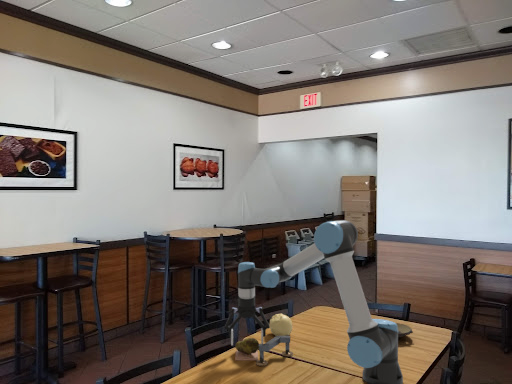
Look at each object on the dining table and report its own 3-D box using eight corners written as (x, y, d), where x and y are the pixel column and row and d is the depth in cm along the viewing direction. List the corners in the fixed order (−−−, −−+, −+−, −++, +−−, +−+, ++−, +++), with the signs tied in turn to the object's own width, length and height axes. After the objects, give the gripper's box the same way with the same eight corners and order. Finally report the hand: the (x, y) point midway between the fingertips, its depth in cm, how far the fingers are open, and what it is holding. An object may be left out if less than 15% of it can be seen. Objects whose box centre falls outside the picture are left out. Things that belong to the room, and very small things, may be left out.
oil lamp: (387, 347, 196) (386, 331, 196) (349, 329, 224) (349, 314, 224) (423, 341, 205) (423, 326, 205) (382, 324, 232) (382, 310, 233)
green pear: (250, 348, 194) (250, 331, 194) (261, 357, 182) (261, 339, 182) (233, 350, 191) (233, 333, 191) (244, 361, 179) (244, 342, 179)
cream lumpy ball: (269, 330, 221) (269, 310, 221) (292, 331, 220) (292, 311, 220) (268, 338, 209) (268, 316, 209) (292, 338, 208) (292, 317, 208)
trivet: (258, 360, 181) (258, 358, 181) (235, 360, 181) (235, 358, 181) (257, 351, 191) (257, 350, 191) (236, 351, 191) (236, 350, 191)
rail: (295, 354, 187) (295, 336, 187) (262, 367, 173) (262, 348, 173) (284, 350, 192) (284, 333, 192) (251, 362, 178) (251, 343, 178)
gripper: (273, 294, 190) (274, 340, 190) (219, 295, 190) (220, 341, 190) (274, 298, 183) (275, 346, 183) (218, 299, 183) (218, 347, 182)
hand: (247, 344), depth 186 cm, fingers open, 13 cm apart
